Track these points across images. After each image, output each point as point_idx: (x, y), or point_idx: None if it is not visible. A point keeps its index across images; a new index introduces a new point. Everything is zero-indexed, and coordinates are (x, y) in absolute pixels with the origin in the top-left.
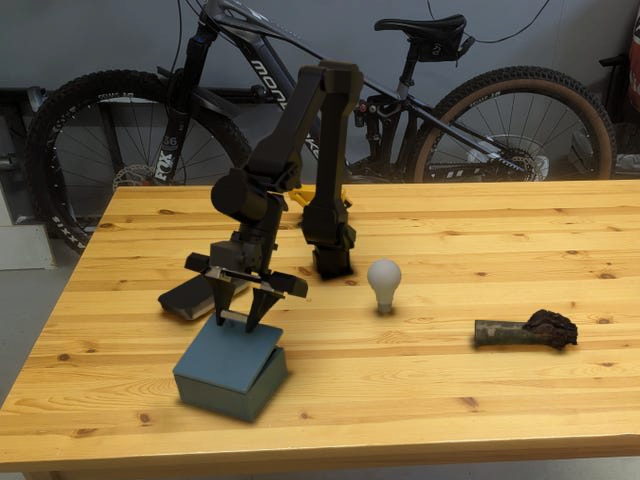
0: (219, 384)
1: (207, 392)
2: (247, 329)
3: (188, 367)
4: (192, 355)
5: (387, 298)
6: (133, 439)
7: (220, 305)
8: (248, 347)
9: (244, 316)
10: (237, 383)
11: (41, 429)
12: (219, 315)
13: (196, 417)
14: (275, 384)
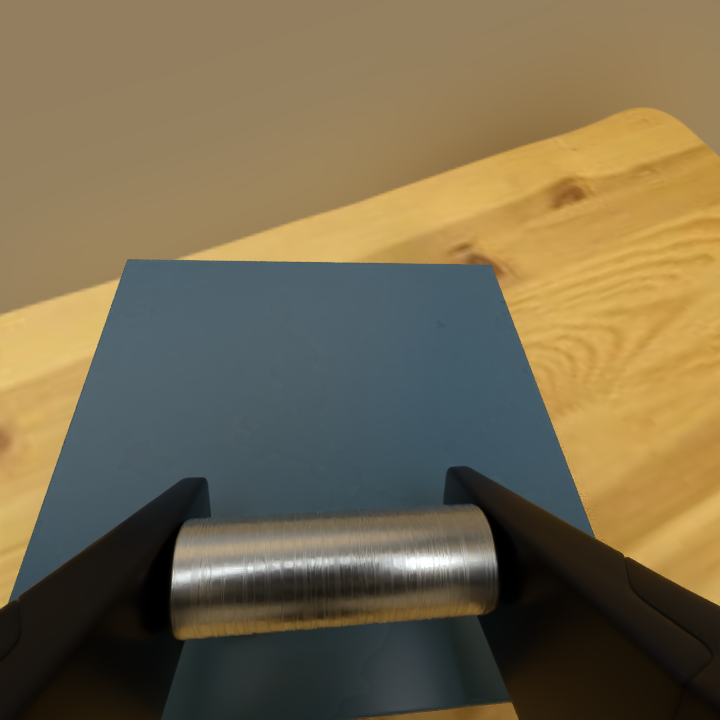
0: (258, 261)
1: None
2: (178, 487)
3: (441, 290)
4: (474, 340)
5: None
6: (452, 207)
7: (539, 556)
8: (206, 469)
9: (212, 553)
10: (177, 279)
11: (652, 176)
12: (484, 500)
13: None
14: None
